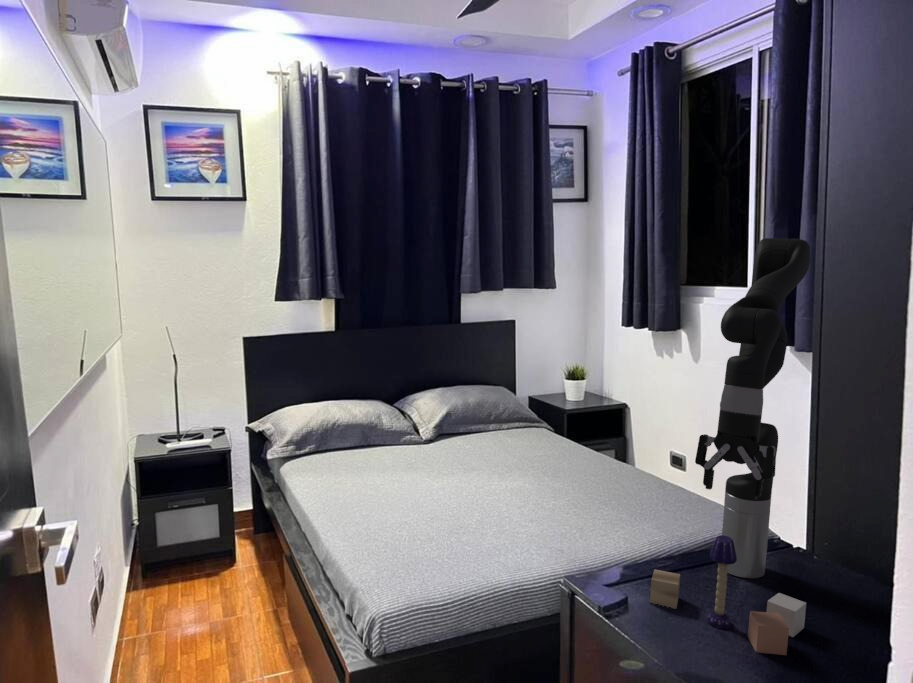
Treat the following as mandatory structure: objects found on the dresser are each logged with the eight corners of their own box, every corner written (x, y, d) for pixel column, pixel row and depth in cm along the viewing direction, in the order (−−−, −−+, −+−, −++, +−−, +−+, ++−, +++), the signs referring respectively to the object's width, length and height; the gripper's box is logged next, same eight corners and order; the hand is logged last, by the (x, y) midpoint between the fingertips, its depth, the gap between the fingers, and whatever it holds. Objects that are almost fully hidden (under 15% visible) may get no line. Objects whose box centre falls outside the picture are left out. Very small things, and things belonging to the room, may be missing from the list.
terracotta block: (747, 637, 123) (749, 610, 122) (776, 639, 122) (779, 613, 122) (756, 652, 118) (758, 625, 118) (786, 655, 117) (788, 628, 117)
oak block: (652, 592, 139) (654, 569, 138) (678, 598, 137) (680, 574, 136) (649, 603, 134) (651, 579, 134) (676, 609, 132) (678, 584, 132)
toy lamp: (733, 631, 124) (740, 544, 122) (706, 628, 125) (713, 541, 123) (728, 618, 129) (735, 534, 127) (702, 615, 130) (709, 531, 128)
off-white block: (776, 617, 130) (778, 592, 130) (804, 628, 127) (806, 602, 126) (765, 626, 127) (767, 600, 126) (793, 637, 123) (795, 611, 123)
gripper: (784, 416, 131) (774, 500, 131) (709, 404, 139) (699, 483, 139) (776, 416, 125) (765, 504, 125) (697, 405, 133) (688, 487, 133)
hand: (731, 493), depth 132 cm, fingers open, 8 cm apart
